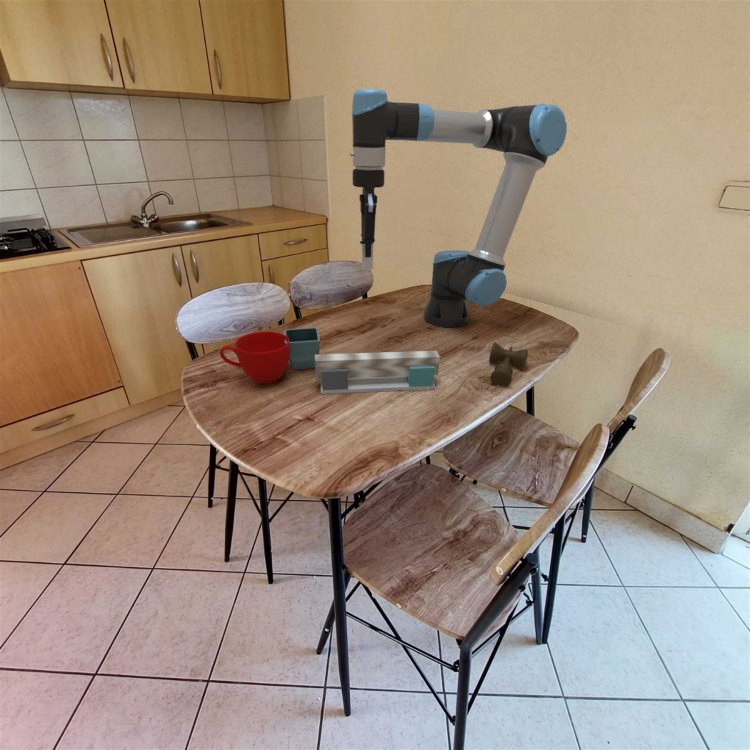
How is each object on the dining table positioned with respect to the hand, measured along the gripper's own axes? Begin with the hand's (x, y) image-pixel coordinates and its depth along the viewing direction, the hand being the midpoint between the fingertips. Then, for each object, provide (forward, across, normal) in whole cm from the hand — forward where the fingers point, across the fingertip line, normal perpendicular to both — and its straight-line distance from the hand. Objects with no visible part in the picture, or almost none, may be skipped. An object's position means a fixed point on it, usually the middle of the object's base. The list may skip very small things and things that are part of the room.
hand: (367, 268), depth 113 cm
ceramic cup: (+25, +12, -29) cm, 40 cm away
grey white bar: (+21, +18, +1) cm, 28 cm away
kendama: (+25, +13, +36) cm, 46 cm away
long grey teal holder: (+24, +18, +1) cm, 30 cm away
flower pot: (+25, +6, -18) cm, 31 cm away
